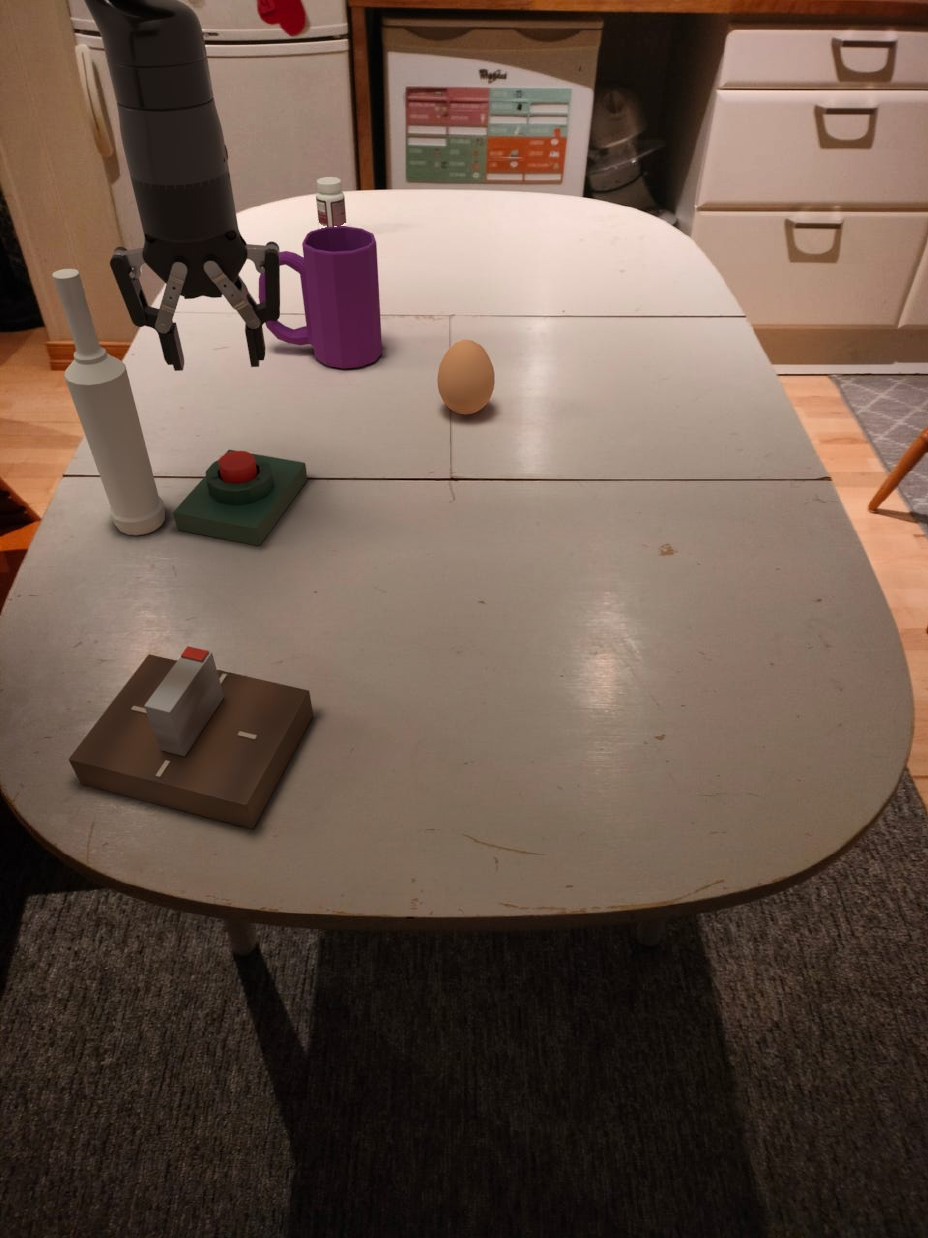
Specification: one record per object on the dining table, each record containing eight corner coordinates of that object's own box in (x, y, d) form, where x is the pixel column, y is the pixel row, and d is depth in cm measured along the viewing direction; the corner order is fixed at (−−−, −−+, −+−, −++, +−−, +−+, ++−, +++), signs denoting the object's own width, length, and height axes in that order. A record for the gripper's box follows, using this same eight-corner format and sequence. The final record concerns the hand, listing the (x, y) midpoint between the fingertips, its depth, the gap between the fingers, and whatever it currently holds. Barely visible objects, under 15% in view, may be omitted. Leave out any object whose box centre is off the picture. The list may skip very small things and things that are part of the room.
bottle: (109, 513, 87) (27, 267, 69) (160, 500, 88) (93, 257, 71) (119, 542, 83) (36, 290, 66) (172, 528, 85) (104, 279, 68)
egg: (494, 426, 100) (497, 355, 94) (437, 425, 100) (437, 354, 94) (492, 397, 105) (495, 328, 99) (437, 397, 105) (437, 328, 99)
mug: (378, 372, 110) (371, 253, 99) (259, 367, 110) (240, 249, 100) (386, 340, 116) (380, 226, 106) (274, 335, 117) (258, 221, 106)
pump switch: (259, 546, 83) (253, 513, 81) (177, 530, 85) (168, 497, 82) (307, 479, 92) (303, 447, 89) (232, 466, 93) (225, 434, 91)
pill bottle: (348, 228, 147) (344, 175, 141) (346, 238, 144) (342, 184, 138) (320, 227, 147) (316, 175, 141) (317, 237, 144) (312, 184, 138)
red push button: (247, 487, 84) (244, 472, 83) (214, 481, 85) (211, 466, 84) (263, 468, 87) (260, 453, 86) (231, 462, 87) (228, 447, 86)
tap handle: (185, 757, 61) (168, 710, 57) (160, 750, 61) (142, 703, 58) (224, 696, 65) (211, 649, 61) (201, 691, 65) (187, 643, 62)
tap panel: (80, 784, 63) (67, 758, 61) (157, 678, 70) (148, 652, 68) (253, 829, 60) (246, 804, 58) (313, 715, 68) (309, 688, 66)
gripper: (73, 183, 62) (131, 389, 74) (271, 177, 64) (297, 380, 76) (90, 153, 68) (142, 350, 79) (273, 149, 69) (297, 342, 81)
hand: (218, 364), depth 77 cm, fingers open, 6 cm apart
